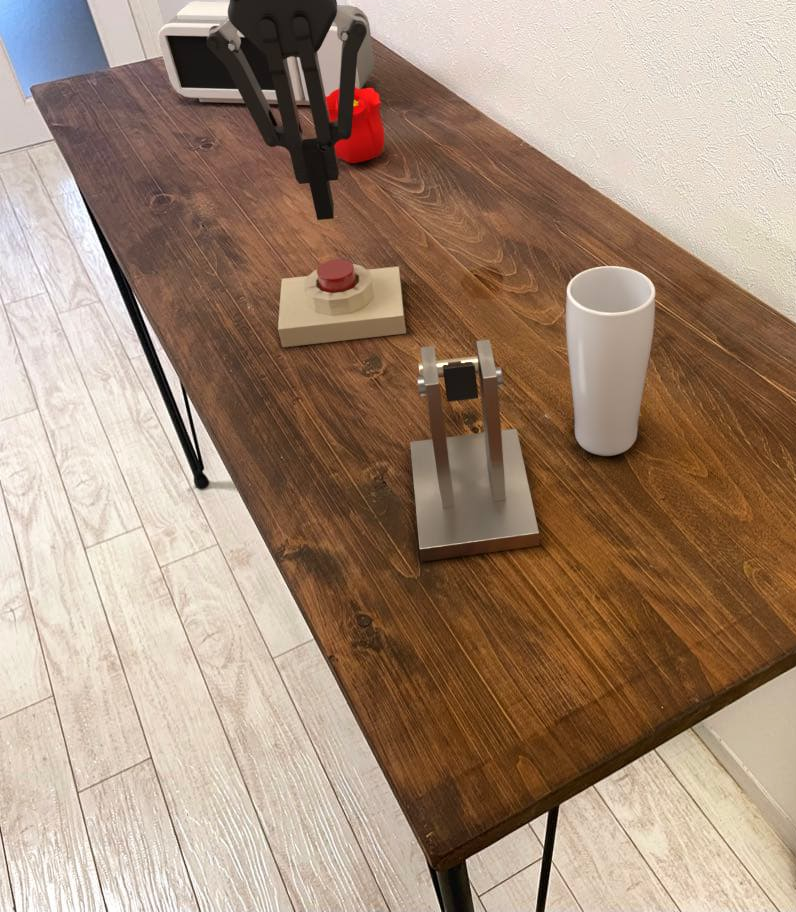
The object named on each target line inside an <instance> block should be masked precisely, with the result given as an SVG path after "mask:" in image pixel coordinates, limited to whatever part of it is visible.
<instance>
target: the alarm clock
mask: <svg viewBox="0 0 796 912" xmlns="http://www.w3.org/2000/svg"><path fill="white" fill-rule="evenodd" d="M229 3H230V1H195V0H193V1H190V2H189V3H188V4H186V5H185V6H184V7H183V8H182V9H181V10H179V11H178V12H177V13H176V15H175V16H174V17H173V18H171V19H170V20H169V21H168V22H167V23H165V24H164V25H163V26H161V28H159V31H158V33H157V40H158V41H157V42H158V46H159V49H160V52H161V56H162V59H163V61H164V62H163V63H164V65H165V69H166V73H167V76H168V79H169V82H170V84H171V86H172V88H173V89H174V90H175V91H176V92H177V93H178V94H179V95H181V96H182V97H184V98H189V99H198V101H199V103H224V104H225V103H226V104H227V103H228V104H245V102H244V100H243V98H242V96H241V94H240V92H239V91H238V89H237V87H236V85H235V83H234V81H233V79H232V77H231V75H230V73H229V71H228V69H227V67H226V65H225V64H224V63H223V62H222V61H221V60H220V59H219V58H218V57H217V56H216V55H215V54H214V53H213V52H212V51H211V50H210V49H209V48H208V46H207V43H206V42H207V38H208V34H209V30H210V28H211V27H212V26H219V25H220V24H221V23H222V22H223V21H224V20H225V19H226V18H227V17H228V7H229ZM337 6H338V7H340V8H342V9H344V10H346V11H347V12H349V13H351V14H353V15H354V14H356V13H360V14H362V15H363V16H364V17H365V19H366V28H367V33H366V36H365V38H364V41H363V43H362V45H361V47H360V49H359V51H358V54H357V67H356V80H355V87H356V88H358V89H363V88H364V86H365V84H366V82H367V81H368V80H369V78H370V77H371V75H372V74H373V71H374V69H375V61H376V60H375V55H374V50H373V49H374V47H373V42H372V41H373V40H372V35H371V34H372V33H371V26H370V22H369V19H368V16H367V15H366V14H365V12H364V11H363V10H362V9H360V8H359V7H357V6H353V5H347V4H346V5H343V4H341V5H340V4H339V5H338V4H337ZM237 33H238V35H239V37H240V40H241V43H240V49H241V50H242V52H243V54H244V56H245V58H246V60H247V62H248V64H249V66H250V68H251V70H252V72H253V74H254V76H255V78H256V80H257V82H258V84H259V86H260V88H261V90H262V92H263V94H264V96H265V98H266V100H267V102H268V104H269V105H278V101H277V97H276V93H275V88H274V84H273V79H272V75H271V73H270V70H269V65H268V61H267V56H265V55H263V54H262V53H261V52H260V51H259V50H258V49H257V48H256V47H255V46H254V45H253V44H252V43H251V42H250V41H249V40H248V39H246V38H245V37H244V36H243V35H242V34H241V33H240V32H239V31H237ZM342 42H343V41H341V40H340V39H339V38H338V36H337V25H336V23H335V22H333V23H332V25H331V27H330V29H329V31H328V33H327V35H326V37H325V39H324V41H323V43H322V46H321V47H320V49H319V50H318V51H317V53H318V61H319V66H320V71H321V76H322V81H323V86H324V92H325V96H329V95H330V94H331V93H332V92H333V91H335V90H337V89H339V85H340V69H341V53H342ZM287 63H288V68H289V72H290V77H291V82H292V87H293V91H294V96H295V101H296V105H297V106H298V105H299V106H310V102H309V98H308V93H307V88H306V83H305V78H304V73H303V70H302V67H301V62H300V58H299V57H293V56H291V57H288V58H287Z"/></svg>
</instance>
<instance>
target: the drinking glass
mask: <svg viewBox="0 0 796 912" xmlns="http://www.w3.org/2000/svg"><path fill="white" fill-rule="evenodd" d="M655 318H656V288H655V285H654V283H653V281H651V279H650V278H649V277H647V275H645V274H643V273H642V272H640V271H638V270H636V269H633V268H628V267H626V266H617V265H604V266H597V267H592V268H588V269H585V270H583V271H581V272H579V273H577V274H576V275H575V276H574V277H572V278H571V279H570V281H569V282H568V283H567V286H566V300H565V339H566V350H567V358H568V368H569V377H570V378H569V379H570V386H571V396H572V406H573V407H572V408H573V416H574V419H573V420H574V422H573V423H574V430H573V431H574V436H575V440H576V442H577V444H578V445H579V446H580V448H582V449H583V450H585V451H586V452H588V453H590V454H592V455H597V456H600V457H612V456H617V455H620V454H623V453H625V452H627V451H628V450H629V449H631V448H632V447H633V446H634V443H635V442H636V441H637V438H638V430H639V419H640V412H641V409H642V407H641V406H642V402H643V395H644V390H645V384H646V379H647V373H648V369H649V363H650V357H651V351H652V346H653V340H654V330H655V321H656V320H655Z"/></svg>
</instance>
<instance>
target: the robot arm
mask: <svg viewBox="0 0 796 912" xmlns="http://www.w3.org/2000/svg"><path fill="white" fill-rule="evenodd" d="M229 2H230V3H229V7H228V17H227V18H226V19H225V20H224V21H223V22H222V23H221V24H220V25H219V26H212V27H211V28H210V30H209V34H208V38H207V42H206V43H207V46H208V48H209V49H210V50H211V51H212V52H213V53H214V54H215V55H216V56H217V57H218V58H219V59H220V60H221V61H222V62H223V63H224V64H225V65H226V67H227V69H228V71H229V73H230V75H231V77H232V79H233V81H234V83H235V85H236V87H237V89H238V91H239V92H240V94H241V96H242V98H243V100H244V102H245V103H244V104H245V106H246V108H247V110H248V112H249V114H250V116H251V117H252V120H253V121H254V123H255V126H256V127H257V130H258V131H259V133H260V136H261V137H262V139H263V141H264V143H265V145H266V146H268V147H270V148H275V147H281V148H284V149H286V150H287V151H288V152H289V155H290V159H291V164H292V168H293V173H294V177H295V180H296V182H297V183H298V185H302V184H303V185H305V184H309V188H310V193H311V197H312V203H313V207H314V212H315V216H316V220H317V221H322V220H332V219H334V218H335V216H334V215H335V212H334V211H335V210H334V209H335V207H334V199H333V194H332V190H331V183H330V181H338V179H339V176H340V173H339V172H340V169H339V162H338V161H339V160H338V157H337V156H336V151H335V146H334V145H335V144H336V142H338V141H340V140H342V139H343V140H347V139H349V138H350V137H351V134H352V121H353V107H354V94H355V80H356V67H357V54H358V51H359V49H360V47H361V45H362V43H363V41H364V38H365V36H366V33H367V28H366V19H365V17H364V16H363V15H362V14H360V13H356V14H354V15H353V14H351V13H349V12H347V11H346V10H344V9H342V8H340V7H338V6H337V5H338V1H337V0H229ZM333 22H335V23H336V25H337V36H338V38H339V39H340V40H341V41H343V42H342V53H341V69H340V85H339V101H338V117H337V120H335V121H333V122H330V117H329V112H328V107H327V102H326V97H325V92H324V86H323V81H322V76H321V71H320V66H319V61H318V53H317V51H318V50H319V49H320V47H321V46H322V43H323V41H324V39H325V37H326V35H327V33H328V31H329V29H330V27H331V25H332V23H333ZM237 31H239V32H240V33H241V34H242V35H243V36H244V37H245V38H246V39H248V40H249V41H250V42H251V43H252V44H253V45H254V46H255V47H256V48H257V49H258V50H259V51H260V52H261V53H262V54H263V55H265V56H267V61H268V65H269V70H270V73H271V75H272V79H273V84H274V88H275V93H276V97H277V101H278V104H277V105H278V111H279V114H280V115H279V116H280V118H281V123H282V125H279V122H278V120H277V118H276V116H275V114H274V112H273V110H272V109H271V106H270V104H268V102H267V100H266V98H265V96H264V94H263V92H262V90H261V88H260V86H259V84H258V82H257V80H256V78H255V76H254V74H253V72H252V70H251V68H250V66H249V64H248V62H247V60H246V58H245V56H244V54H243V52H242V50H241V49H240V43H241V40H240V37H239V35H238V33H237ZM291 56H293V57H299V58H300V62H301V67H302V70H303V73H304V78H305V83H306V88H307V93H308V98H309V102H310V105H309V106H310V111H311V117H312V121H313V126H314V132H315V134H316V137H315V138H304V137H303V129H302V124H301V119H300V115H299V111H298V105H296V101H295V96H294V91H293V87H292V82H291V77H290V72H289V68H288V63H287V58H288V57H291Z"/></svg>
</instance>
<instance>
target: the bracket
mask: <svg viewBox="0 0 796 912" xmlns="http://www.w3.org/2000/svg"><path fill="white" fill-rule="evenodd" d="M475 345H476V346H475V347H476V356H477V358H478V369H479V373H478V379H479V391H480V403H481V413H482V426H483V432H479V433H478V432H477V433H470V434H469V433H468V434H463V435H454V436H447V434H446V433H447V432H446V426H445V425H446V424H445V417H444V410H443V409H444V408H443V400H442V394H441V386H440V378H439V377H438V370H437V362H436V361H437V356H436V355H437V354H436V347H435V345H428V346H427V345H426V346H421V347H420V357H421V362H422V366H423V375H424V376H420V375H419V376H417V377H416V381H417V389H418V396H419V397H423V396H425V398H426V404H427V411H428V419H429V426H430V433H431V438H430V439H422V440H414V441H410V442H409V445H410V457H411V469H412V478H413V479H412V480H413V493H414V502H415V514H416V525H417V536H418V537H417V538H418V547H419V548H418V549H419V554H420V560H421V562H422V563H424V562H431V561H438V560H440V561H441V560H446V559H452V558H453V559H454V558H460V557H469V556H475V555H482V554H490V553H497V552H503V551H511V550H518V549H519V550H520V549H525V548H532V547H539V546H540V544H541V543H540V530H539V525H538V521H537V517H536V512H535V507H534V503H533V498H532V493H531V488H530V484H529V480H528V475H527V469H526V465H525V461H524V456H523V451H522V447H521V442H520V437H519V433H518V429H517V428H509V429H502V424H501V423H502V422H501V410H500V409H501V408H500V396H499V388H500V387H503V386H504V377H503V371H502V370H503V369H502V367H501V366H496V363H495V358H494V353H493V349H492V343H491V340H490V339H489V338H488V339H480V340H476V341H475Z"/></svg>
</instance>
